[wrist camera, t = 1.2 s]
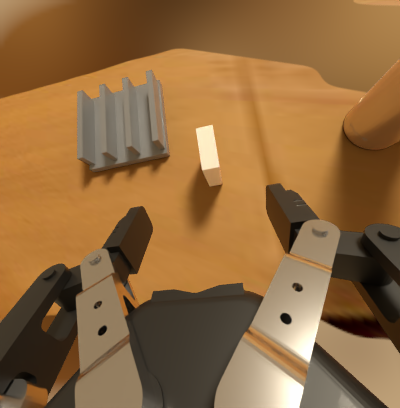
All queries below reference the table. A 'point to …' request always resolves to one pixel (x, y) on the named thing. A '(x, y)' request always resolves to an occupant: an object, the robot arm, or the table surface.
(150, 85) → the dish rack
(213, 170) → the tall cream block
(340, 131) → the table surface
